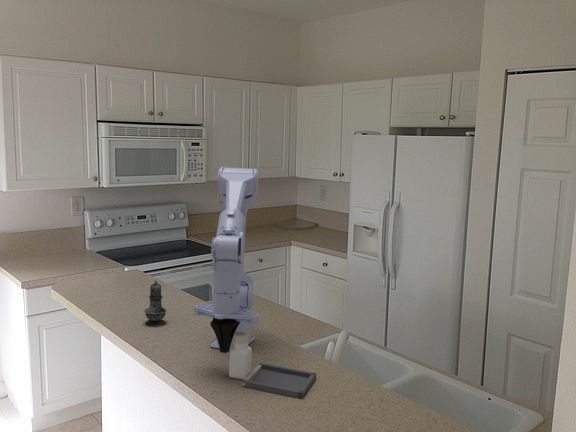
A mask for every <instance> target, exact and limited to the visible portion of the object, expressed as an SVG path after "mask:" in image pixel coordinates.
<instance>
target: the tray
mask: <svg viewBox="0 0 576 432" xmlns="http://www.w3.org/2000/svg"><path fill="white" fill-rule="evenodd" d="M316 379H317V372H311V371H307V370H301V369H295V368H291V367H286V366H279V365H275V364H269V363H263V362H260V363H259V364H258V365H257V366H255V368H253V370H251V373H250V374H249V375H248V376H247V377H246V378H245V379H242V381H241V387H242V388H249V389H253V390H258V391H260V392H261V391H263V392H268V393H272V394H275V395H276V394H277V395H281V396H286V397H291V398H295V397H296V398H295V399H300V398H301V400H302V399H304V397H303V396H305V395H306V394H307V392H308V391H309V390H310V388H311V386H313V383H314V382H315V380H316Z"/></svg>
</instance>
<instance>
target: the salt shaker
mask: <svg viewBox="0 0 576 432" xmlns="http://www.w3.org/2000/svg"><path fill="white" fill-rule="evenodd" d="M149 289H150V290H149V292H150V293H149V296H148V299H149V307H148V308H146V309H144V312H143V313H144V314H145V316H146V318H147V319H148V320H146V321H145V325H146V326H148V327H151V328H152V327H153V328H154V327H162V326H164V325H166V321H165V320H163V319H164V318H165V316H166V313H167V312H168V311H167V309H166V308H165V307H163V305H162V299H163V297H164V296H163V295H162V285H161V284H160V283H158V281H157V280H154V283H152V284H151V285H150V287H149Z"/></svg>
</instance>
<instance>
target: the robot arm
mask: <svg viewBox="0 0 576 432" xmlns="http://www.w3.org/2000/svg"><path fill="white" fill-rule="evenodd" d="M259 177H260V174H259V170H258V169H257V168H256V167H255V168H246V167H245V168H243V167H242V168H241V167H224V166H220V167H219V169H218V172H217V191H218V196H219V199H220V202H221V203H223V204H225V209H224V210H222V211H221V212H220V214H219V216H218V217H219V218H218V223H217V229H216V236H213V237H212V240H211V248H210V250H211V260H212V261H211V262H212V266H211V267H212V271H213V283H212V284H213V285H212V290H211V304H209V305H208V304H196V305H195V306H194V307H193V315H194V316H196V317H197V316H204V317H209V318H212V320H211V321H210V323H209V324H210V327H211V328H212V330H213V333H214V335H215V336H216V340H215V341H214V342H212V343H211V344H210V348H215V349H219V353H224V354H227V353H229V352H230V349H231V348H232V347H233V346H234V333H235V332H238V331H245V332H247V333H249V339H248V341H249V342H248V345H249V344H251V343H252V342H253V341H255V337H254V336H252V326H257V324H258V323H259V321H260V314H259V313H255V312H251V309H252V308H253V305H254V279H253V277H252V276H251V275H250V274H249V273H247V272H246V271H245V270H244V261H245V241H246V226H247V214H248V210H249V208H250V206H253V205H254V204H256V203H257V199H258V192H259V180H260V179H259Z"/></svg>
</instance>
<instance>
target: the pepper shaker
mask: <svg viewBox="0 0 576 432" xmlns="http://www.w3.org/2000/svg"><path fill="white" fill-rule="evenodd" d="M248 339H249V333H247V332H245V331H238V332H235V333H234V346H233V347H232V348H231V349H230V350H229V362H228V365H229V366H228V376H229V378H232V379H238V380H244V379H245V378H246V377H247V376H248V375H249V374H250V373H251V372H252V352H253V351H252V350H253V349H252V347H251V346H250V345H249V344H248V342H249V341H248Z"/></svg>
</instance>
